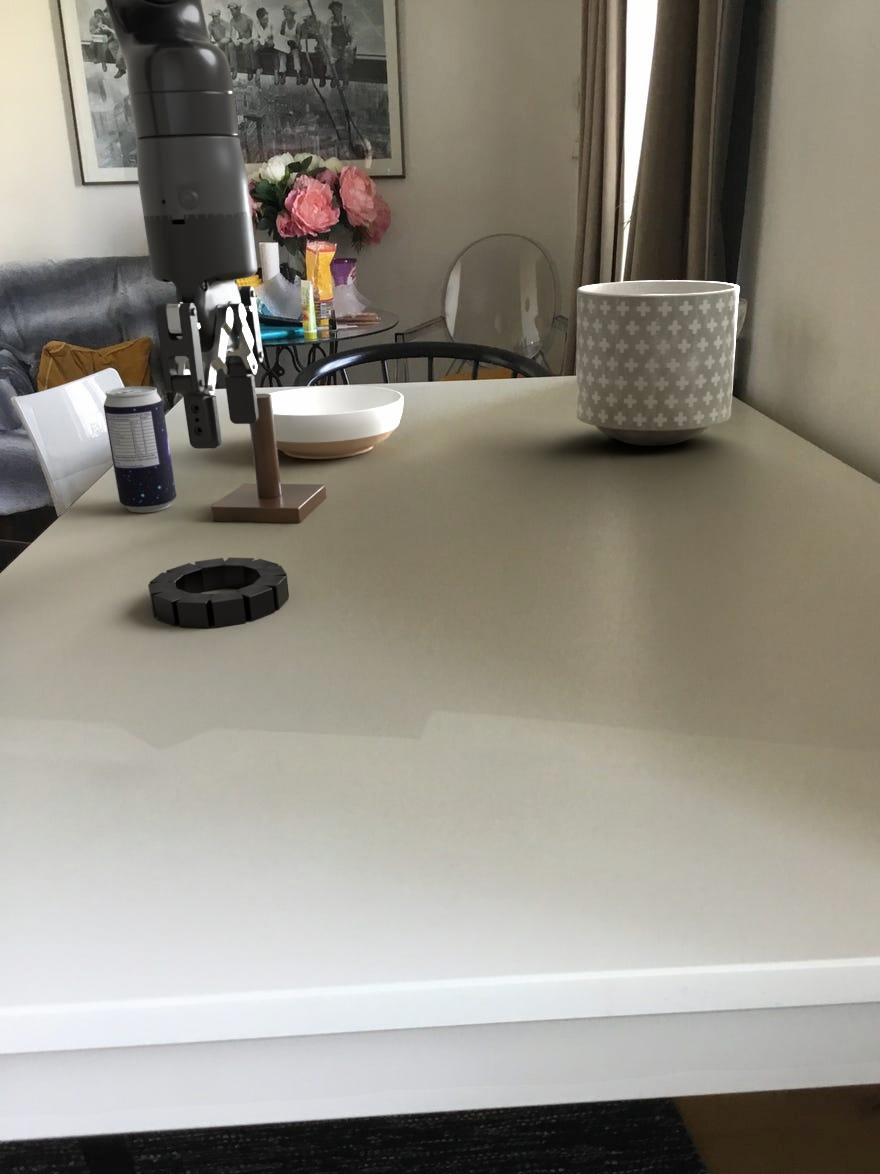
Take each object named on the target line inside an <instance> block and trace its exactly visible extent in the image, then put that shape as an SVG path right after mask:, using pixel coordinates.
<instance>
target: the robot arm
mask: <svg viewBox="0 0 880 1174" xmlns="http://www.w3.org/2000/svg"><path fill="white" fill-rule="evenodd" d="M104 1H105V4H106V8H107V11H108V15H109V18H110V22H111V25H112V28H113V31H114V35H115V38H116V42H117V43H118V46H119V49H120V51H121V54H122V58H123V60H124V64H125V68H126V72H127V73H126V75H127V86H128V87H127V88H128V94H129V103H130V109H131V116H132V122H133V128H134V135H135V139H136V140H135V143H136V144H135V145H136V153H137V154H136V161H137V162H136V168H137V181H138V182H137V183H138V188H139V195H140V202H141V209H142V215H143V222H144V229H145V234H146V242H147V248H148V255H149V263H150V269H151V270H150V271H151V274H152V276H153V278H154V280H156V281H159V282H162V283H172V284H173V285H174V286H175V287H174V288H175V302H168V303H157V304H156V305H155V316H156V326H157V332H158V339H159V340H158V341H159V348H160V355H161V356H160V357H161V364H162V373H163V379H164V380H163V381H164V387H165V390H166V392H167V393H177V396H178V397H181V398H182V397H183V406H184V413H185V419H186V427H187V434H188V439H189V440H188V441H189V445H190V446H191V448H193V449H197V450H201V449H204V450H207V449H209V450H210V449H211V450H212V449H213V450H214V449H216V448H218V447H219V446H220V445H221V444H222V441H223V439H222V433H221V425H220V419H219V417H220V415H219V410H218V409H219V408H218V401H217V396H216V395H215V393H216V385H217V375H218V372H219V370H221V369H222V372H223V373H224V375H226V376H225V377H224V383H225V392H226V401H227V408H228V415H229V420H230V422H231V423H232V424H235V425H249V424H252V423H254V422H256V421H257V420H258V418H259V415H258V406H257V397H256V394H257V388H256V381H255V375H256V374H257V372H258V364H259V363H260V364H261V363H263V361H264V357H265V356H264V349H263V343H262V335H261V327H260V321H259V313H258V305H257V298H256V291H255V288H254V286H253V285H238V282H237V280H242V279H247V278H251V277H254V276H255V275H256V274H257V272H258V261H257V251H256V244H255V234H254V225H253V217H252V207H251V199H250V189H249V179H248V173H247V168H246V167H247V166H246V163H245V158H244V155H243V150H242V147H241V140H240V137H239V136H240V133H239V125H238V124H239V122H238V115H237V114H238V113H237V106H236V105H237V104H236V98H235V88H234V81H233V75H232V70H231V67H230V62H229V60H228V58H227V56H226V54H225V52H224V51H223V50H222V49H221V48H220V47H219V46H217V45H216V44H214V43H212V42H211V40H210V35H209V31H208V27H207V22H206V18H205V13H204V8H203V3H202V0H104ZM177 365H178V367H177ZM177 368H178V369H177Z"/></svg>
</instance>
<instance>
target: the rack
mask: <svg viewBox="0 0 880 1174" xmlns="http://www.w3.org/2000/svg"><path fill="white" fill-rule="evenodd" d="M256 397H257V406H258V415H259V418H258V420H257V421H256V422H254V423H252V424H250V425H249V431H250V440H251V448H252V456H253V464H254V465H253V466H254V474H255V483H249V482H248V483H245V482H244V483H242V484H241V485H240V486H238V487H237V488H235V489H234V490H233V491H231V492H230V493H228V494H227V495H226V496H224V497H223V498H221V499H220V500H219V501H217V502H216V503H214V504H213V505H212V506H210V509H211V510H210V511H211V517H212V522H235V523H236V522H237V523H282V524H283V523H286V524H287V523H288V524H291V523H292V524H301V523H302V522H303V520H305V519H306V518H307V517H308V516H309V515H310V514H311V513H312V512H313V511H314V510H316V509H317V508H318V506H320V505H321V504H322V503H323V502H324V501H325V500H326V499H327V488H326V484H325V483H322V484H318V483H315V484H313V483H282V481H281V473H280V472H281V471H280V464H279V463H280V462H279V454H278V453H279V452H278V449H277V443H276V434H275V424H274V415H273V405H272V395H271V394H269V393H256Z"/></svg>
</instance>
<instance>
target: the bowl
mask: <svg viewBox="0 0 880 1174" xmlns="http://www.w3.org/2000/svg"><path fill="white" fill-rule="evenodd" d="M268 394H271V395H272V405H273V415H274V424H275V434H276V443H277V450H278V451H281V452H283V453H284V454H285V455H287V456H288V457H292V458H295V459H305V460H331V459H341V458H342V459H343V458H349V457H353V456H359V455H361V454H365V453H368V452H370V451H371V450H372V449H373V448H374V446H375V445H377V444H379V443H381V442H383V441H385V440H386V439H387V438H389V437H390V435H391V434H392V433H393V432H394V431H395V430H396V428H397V427H398V426H399V424H400V421H401V418H402V415H403V410H404V395H403V394H402V393H401V392H399V391H397V390H395V389H394V390H393V389H390V388H384V387H378V386H376V387H375V386H366V385H365V386H364V385H363V386H362V385H335V386H334V385H330V386H329V385H327V386H313V387H303V388H294V389H286V390H281V391H280V390H279V391H274V392H269V393H268ZM248 425H249V426H250V424H248Z"/></svg>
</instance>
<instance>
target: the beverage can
mask: <svg viewBox="0 0 880 1174" xmlns="http://www.w3.org/2000/svg"><path fill="white" fill-rule="evenodd" d="M105 396H106V397H105V400H104V403H103V411H104V417H105V424H106V429H107V435H108V440H109V448H110V453H111V458H112V464H113V471H114V477H115V482H116V488H117V495H118V500H119V503H120V504H121V505H122V506H124V507H125V508H127V509H128V511H130V512H132V513H140V514H142V513H143V514H144V513H145V514H146V513H147V514H148V513H154V512H159V511H163V510H166V509H168V508H170V507H171V504H172V502H173V501H174V500H175V499H176V498H177V491H176V484H175V476H174V470H173V469H174V468H173V464H172V457H171V450H170V443H169V442H170V441H169V436H168V429H167V428H168V427H167V423H166V416H165V408H164V402H163V399H162V398H161V397H160V394H158V390H157V388H156V387H155V386H147V385H146V386H145V385H137V386H124V387H117V388H112V389H108V390H107V391H105Z"/></svg>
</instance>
